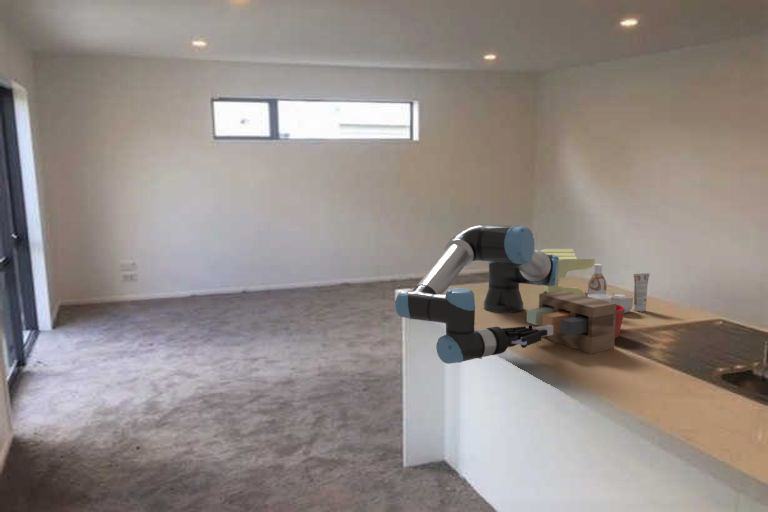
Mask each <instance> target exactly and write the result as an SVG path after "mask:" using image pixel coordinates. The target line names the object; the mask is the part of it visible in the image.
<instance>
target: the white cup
mask: <svg viewBox="0 0 768 512" xmlns="http://www.w3.org/2000/svg"><path fill="white" fill-rule="evenodd" d="M586 296H587V297H591V298H595V299H600V300H604V301H608V302H611V296H609V295H607V294H606V295H604V294H589V295H588V294H586Z"/></svg>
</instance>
